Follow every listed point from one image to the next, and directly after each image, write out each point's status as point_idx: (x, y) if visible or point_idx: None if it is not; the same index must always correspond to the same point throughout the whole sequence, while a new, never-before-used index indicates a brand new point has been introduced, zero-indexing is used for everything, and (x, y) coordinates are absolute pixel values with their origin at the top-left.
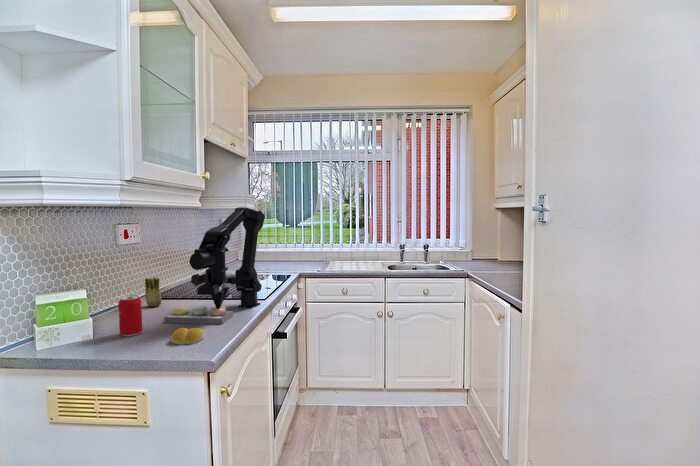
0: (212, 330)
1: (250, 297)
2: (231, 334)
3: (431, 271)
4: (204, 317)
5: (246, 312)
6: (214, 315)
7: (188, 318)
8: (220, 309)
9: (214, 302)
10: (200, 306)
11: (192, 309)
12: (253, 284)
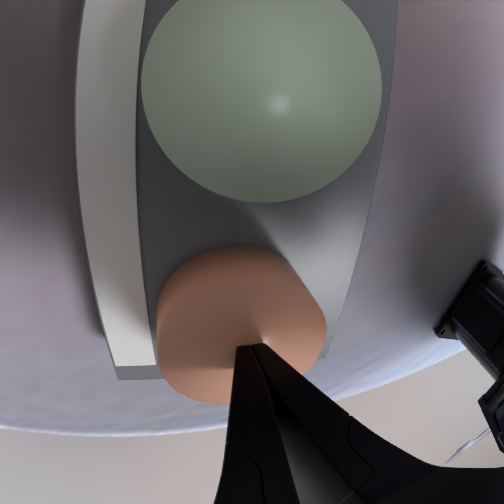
0: (3, 335)
1: (479, 357)
2: (17, 416)
3: (476, 436)
4: (95, 230)
5: (373, 351)
6: (156, 315)
7: (83, 29)
8: (204, 389)
9: (228, 417)
10: (364, 73)
11: (179, 1)
12: (497, 439)
